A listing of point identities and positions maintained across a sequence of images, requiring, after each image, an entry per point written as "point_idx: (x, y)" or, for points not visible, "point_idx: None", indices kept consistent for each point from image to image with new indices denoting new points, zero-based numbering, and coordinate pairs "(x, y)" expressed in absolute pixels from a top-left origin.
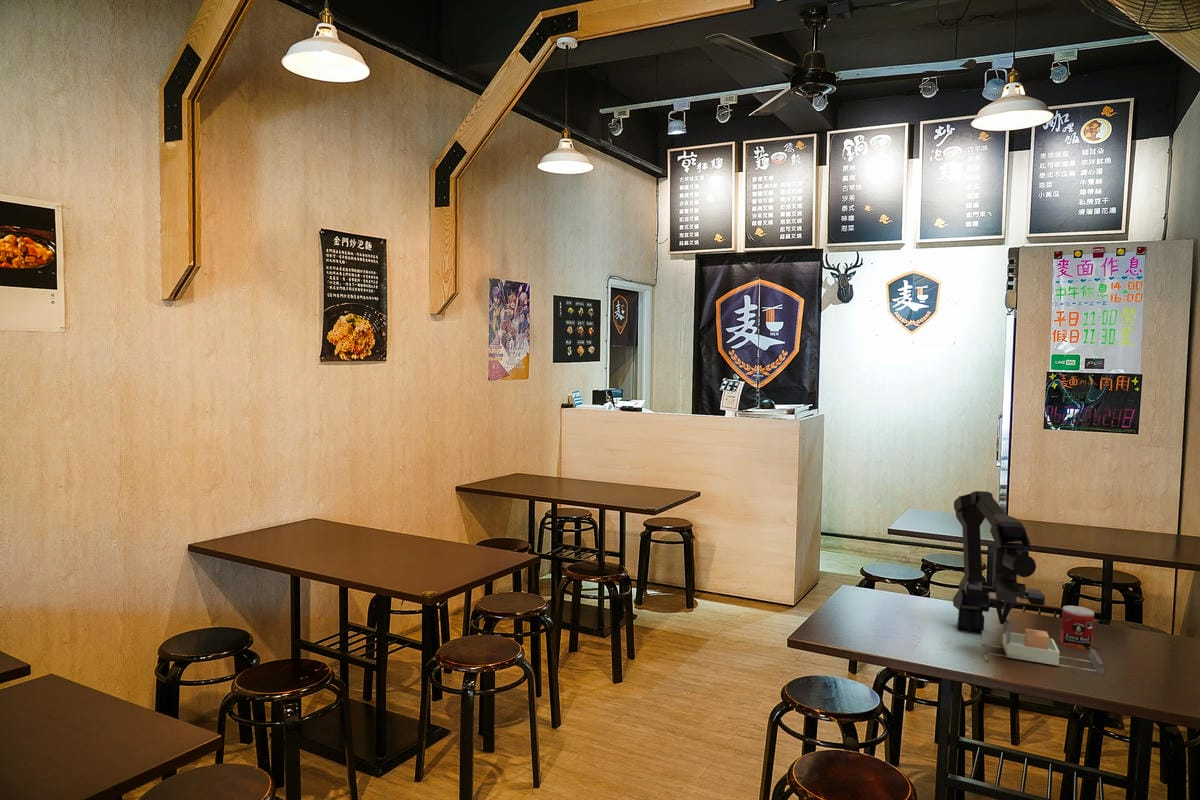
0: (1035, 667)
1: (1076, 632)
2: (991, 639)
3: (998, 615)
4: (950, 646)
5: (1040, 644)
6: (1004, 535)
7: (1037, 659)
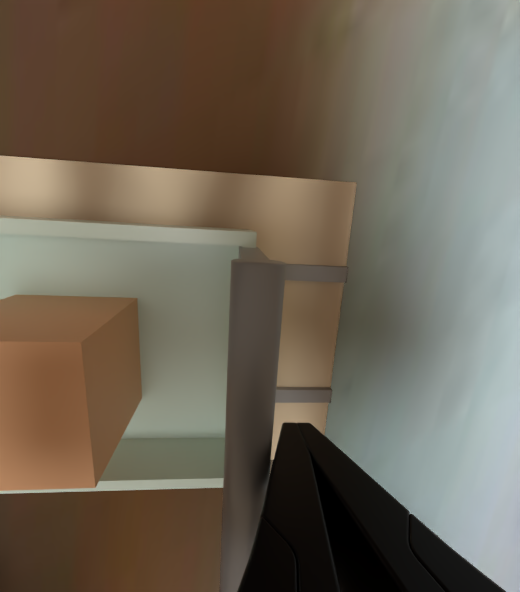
0: None
1: None
2: None
3: (371, 478)
4: (460, 342)
5: (18, 316)
6: None
7: (82, 220)
